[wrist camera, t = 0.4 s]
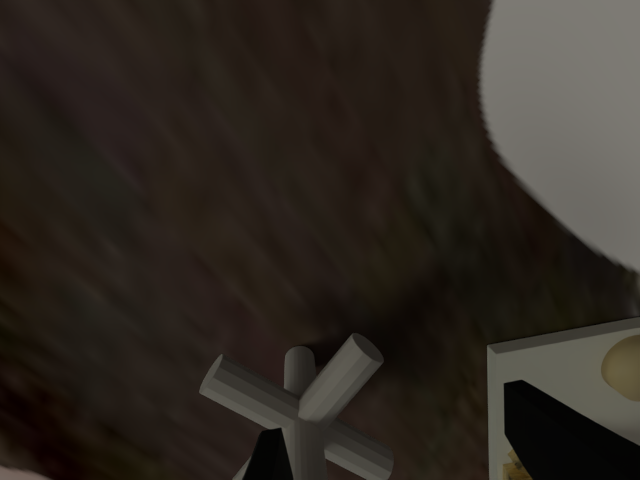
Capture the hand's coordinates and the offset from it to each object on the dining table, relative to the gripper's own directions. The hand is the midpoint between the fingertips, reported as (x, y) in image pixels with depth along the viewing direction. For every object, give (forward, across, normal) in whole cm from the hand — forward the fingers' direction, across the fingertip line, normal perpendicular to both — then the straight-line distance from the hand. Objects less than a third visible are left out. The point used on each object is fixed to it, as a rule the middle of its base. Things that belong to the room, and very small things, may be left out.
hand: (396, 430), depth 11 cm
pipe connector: (+10, +4, +4) cm, 11 cm away
